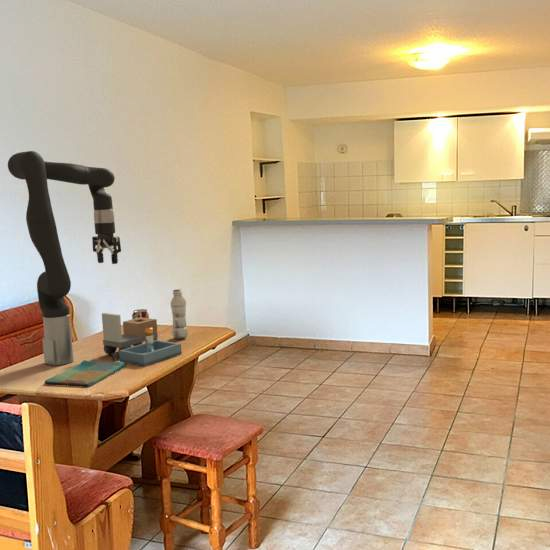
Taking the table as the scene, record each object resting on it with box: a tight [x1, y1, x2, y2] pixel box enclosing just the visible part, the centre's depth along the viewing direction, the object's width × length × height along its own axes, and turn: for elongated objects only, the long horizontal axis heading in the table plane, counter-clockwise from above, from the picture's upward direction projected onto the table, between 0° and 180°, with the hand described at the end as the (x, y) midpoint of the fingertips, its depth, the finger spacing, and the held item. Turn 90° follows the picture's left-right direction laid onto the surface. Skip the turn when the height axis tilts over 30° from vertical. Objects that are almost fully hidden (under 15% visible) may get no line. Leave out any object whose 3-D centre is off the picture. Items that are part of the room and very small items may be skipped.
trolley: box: [101, 312, 159, 361], centre depth 240 cm, size 21×10×16 cm, turn 143°
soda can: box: [131, 308, 150, 320], centre depth 261 cm, size 7×7×12 cm
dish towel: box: [43, 359, 126, 388], centre depth 213 cm, size 17×23×2 cm
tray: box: [118, 339, 182, 367], centre depth 231 cm, size 18×13×4 cm
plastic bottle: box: [169, 288, 189, 340], centre depth 259 cm, size 6×7×20 cm
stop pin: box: [145, 327, 154, 353], centre depth 231 cm, size 3×3×10 cm
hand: (107, 263), depth 247 cm, fingers open, 8 cm apart
